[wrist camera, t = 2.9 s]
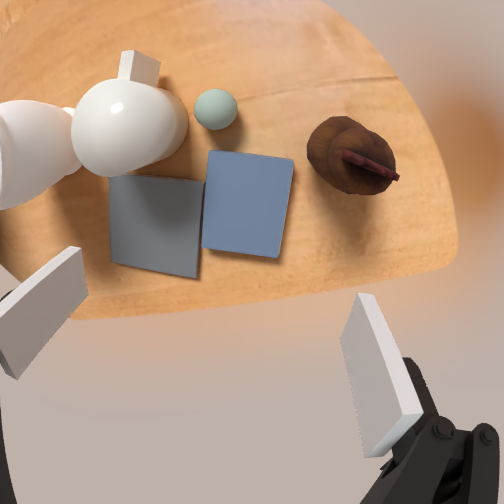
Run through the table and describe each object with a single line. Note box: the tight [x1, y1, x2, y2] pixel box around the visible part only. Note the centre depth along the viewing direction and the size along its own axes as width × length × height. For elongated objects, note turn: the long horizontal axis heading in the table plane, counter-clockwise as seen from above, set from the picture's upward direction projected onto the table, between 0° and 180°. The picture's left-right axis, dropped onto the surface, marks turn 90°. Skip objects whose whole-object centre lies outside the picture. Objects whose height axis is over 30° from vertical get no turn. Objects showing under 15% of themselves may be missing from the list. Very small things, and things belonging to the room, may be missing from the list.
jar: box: [0, 100, 82, 210], centre depth 21 cm, size 11×10×15 cm
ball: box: [194, 89, 237, 130], centre depth 25 cm, size 4×4×4 cm
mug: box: [71, 50, 189, 177], centre depth 23 cm, size 8×11×9 cm
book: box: [201, 150, 294, 258], centre depth 30 cm, size 8×10×2 cm
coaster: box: [109, 173, 206, 278], centre depth 31 cm, size 11×11×1 cm
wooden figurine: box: [307, 116, 400, 195], centre depth 20 cm, size 7×6×15 cm
